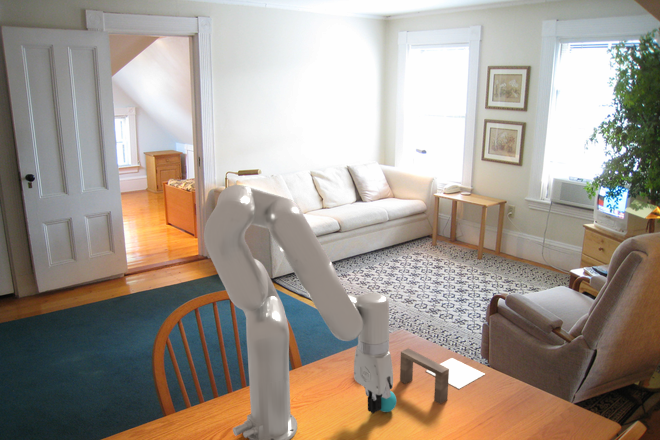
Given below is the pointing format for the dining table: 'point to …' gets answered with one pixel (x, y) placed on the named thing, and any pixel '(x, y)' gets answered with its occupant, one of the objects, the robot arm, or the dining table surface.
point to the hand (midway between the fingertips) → (374, 410)
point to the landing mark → (459, 373)
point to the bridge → (439, 370)
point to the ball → (388, 403)
